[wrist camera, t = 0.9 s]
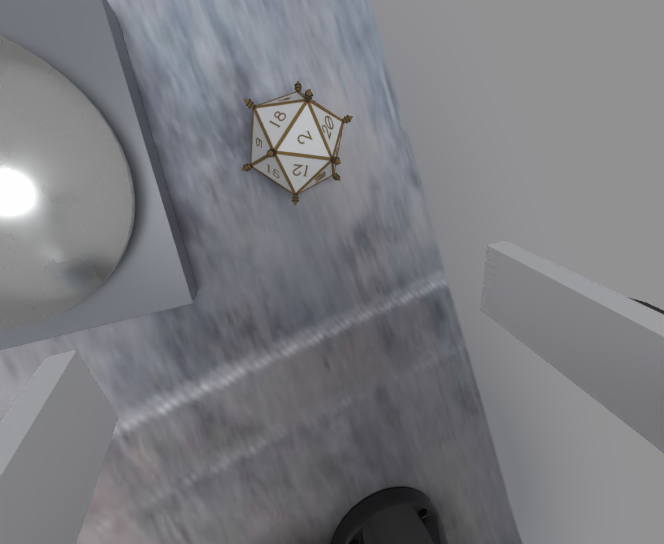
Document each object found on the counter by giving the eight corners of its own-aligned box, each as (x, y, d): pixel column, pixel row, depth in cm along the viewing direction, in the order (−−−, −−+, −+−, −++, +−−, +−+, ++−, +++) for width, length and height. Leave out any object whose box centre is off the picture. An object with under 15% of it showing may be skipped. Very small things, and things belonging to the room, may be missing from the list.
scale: (197, 290, 31) (192, 303, 28) (-64, 350, 27) (-111, 376, 23) (113, 3, 25) (92, -30, 21) (-247, 18, 20) (-353, -20, 17)
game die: (275, 133, 34) (292, 29, 25) (346, 180, 34) (388, 92, 25) (218, 187, 29) (214, 83, 21) (299, 240, 29) (330, 160, 21)
